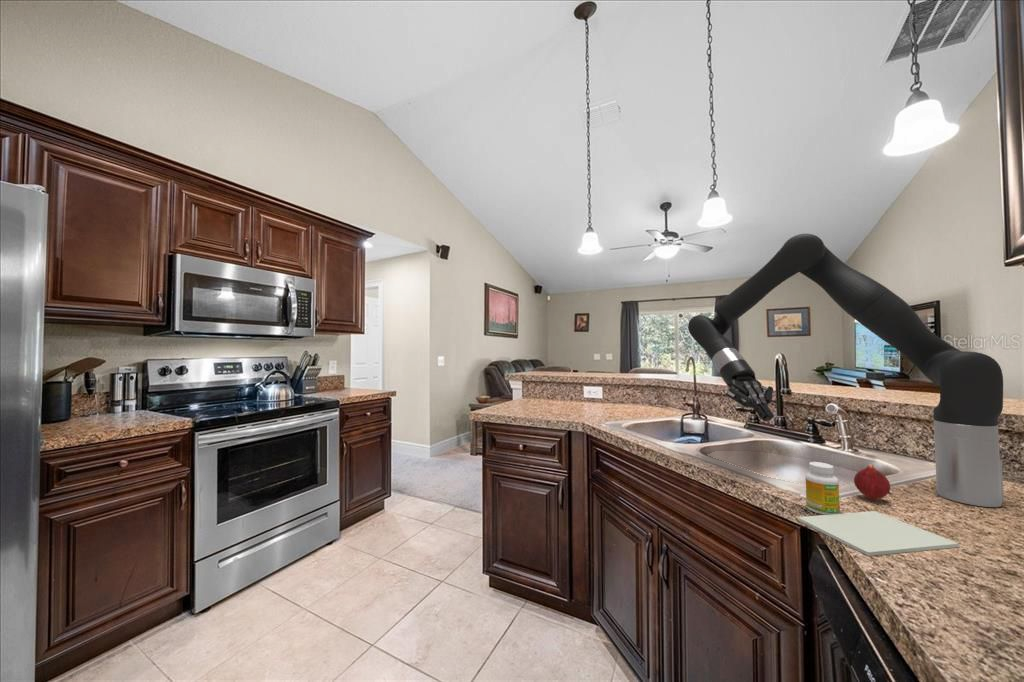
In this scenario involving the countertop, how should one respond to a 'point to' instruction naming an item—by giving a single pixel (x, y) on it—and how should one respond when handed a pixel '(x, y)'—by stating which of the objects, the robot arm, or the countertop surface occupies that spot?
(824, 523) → the mat
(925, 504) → the countertop surface
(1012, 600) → the countertop surface
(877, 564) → the countertop surface
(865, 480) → the onion
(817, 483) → the supplement bottle
